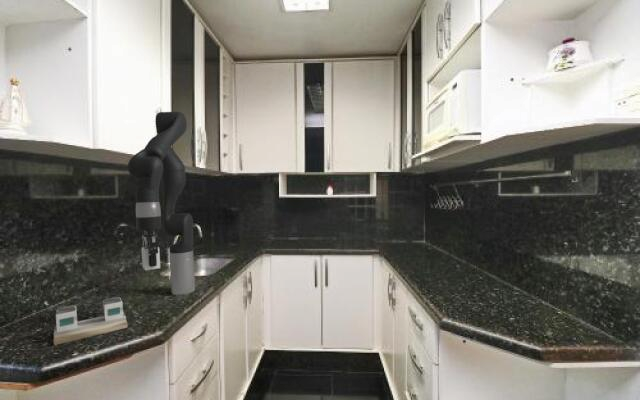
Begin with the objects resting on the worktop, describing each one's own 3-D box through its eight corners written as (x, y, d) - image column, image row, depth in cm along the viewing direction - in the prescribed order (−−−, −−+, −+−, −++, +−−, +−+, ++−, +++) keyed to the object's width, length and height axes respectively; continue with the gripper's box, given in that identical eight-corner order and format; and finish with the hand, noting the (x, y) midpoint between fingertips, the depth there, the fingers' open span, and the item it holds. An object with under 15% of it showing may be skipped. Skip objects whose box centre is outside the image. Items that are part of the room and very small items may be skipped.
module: (142, 267, 114) (141, 245, 114) (156, 265, 117) (155, 244, 116) (145, 270, 109) (144, 247, 109) (160, 268, 112) (159, 246, 112)
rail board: (55, 331, 102) (54, 306, 102) (122, 316, 113) (121, 293, 113) (53, 345, 93) (52, 317, 92) (127, 327, 103) (126, 302, 103)
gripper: (165, 215, 109) (168, 266, 109) (156, 214, 120) (158, 260, 121) (139, 217, 104) (142, 270, 105) (132, 215, 116) (135, 263, 116)
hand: (151, 264), depth 113 cm, fingers closed on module, 5 cm apart
